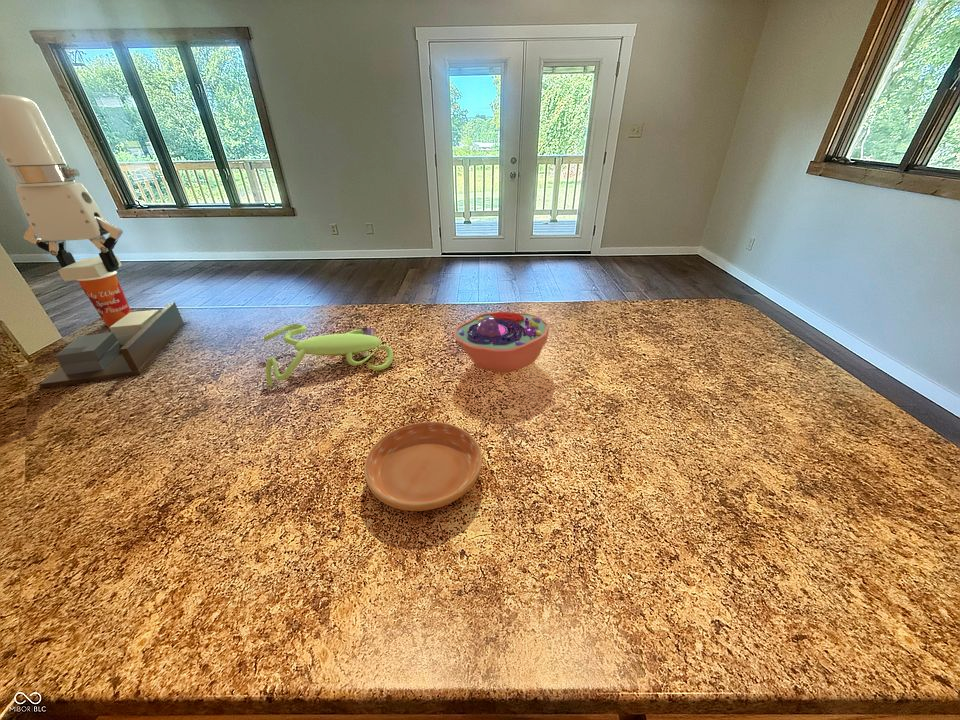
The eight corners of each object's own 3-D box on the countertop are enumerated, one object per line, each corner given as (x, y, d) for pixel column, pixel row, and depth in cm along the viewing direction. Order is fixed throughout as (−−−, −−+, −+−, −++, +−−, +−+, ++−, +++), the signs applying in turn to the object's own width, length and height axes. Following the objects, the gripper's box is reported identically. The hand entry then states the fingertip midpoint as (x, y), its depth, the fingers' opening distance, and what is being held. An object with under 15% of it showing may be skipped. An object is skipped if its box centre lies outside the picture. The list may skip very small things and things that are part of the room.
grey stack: (64, 375, 75) (51, 356, 73) (89, 353, 82) (78, 335, 80) (103, 370, 76) (92, 351, 74) (125, 349, 84) (115, 331, 82)
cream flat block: (64, 281, 75) (57, 270, 73) (89, 268, 82) (83, 258, 81) (100, 277, 76) (94, 266, 75) (122, 265, 83) (117, 255, 82)
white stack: (117, 345, 86) (108, 328, 83) (136, 328, 93) (127, 312, 91) (151, 341, 87) (143, 324, 85) (166, 325, 95) (159, 309, 93)
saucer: (392, 429, 61) (390, 415, 60) (490, 440, 59) (490, 425, 58) (346, 512, 48) (341, 496, 46) (470, 531, 45) (469, 514, 44)
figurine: (273, 345, 87) (266, 323, 84) (391, 332, 93) (388, 311, 90) (251, 389, 72) (242, 364, 69) (395, 371, 77) (391, 347, 74)
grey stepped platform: (41, 388, 73) (22, 361, 70) (109, 332, 94) (97, 309, 91) (140, 374, 77) (126, 348, 74) (184, 323, 98) (174, 302, 95)
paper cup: (100, 332, 94) (69, 277, 87) (103, 321, 100) (74, 269, 93) (139, 324, 98) (113, 271, 91) (140, 314, 104) (115, 263, 97)
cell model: (565, 367, 78) (572, 317, 72) (484, 398, 69) (483, 343, 63) (516, 336, 90) (518, 291, 85) (441, 359, 81) (438, 310, 76)
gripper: (110, 173, 75) (150, 263, 84) (-1, 176, 71) (54, 271, 80) (89, 176, 69) (135, 273, 78) (-34, 179, 65) (30, 281, 74)
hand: (93, 271), depth 79 cm, fingers closed on cream flat block, 6 cm apart
